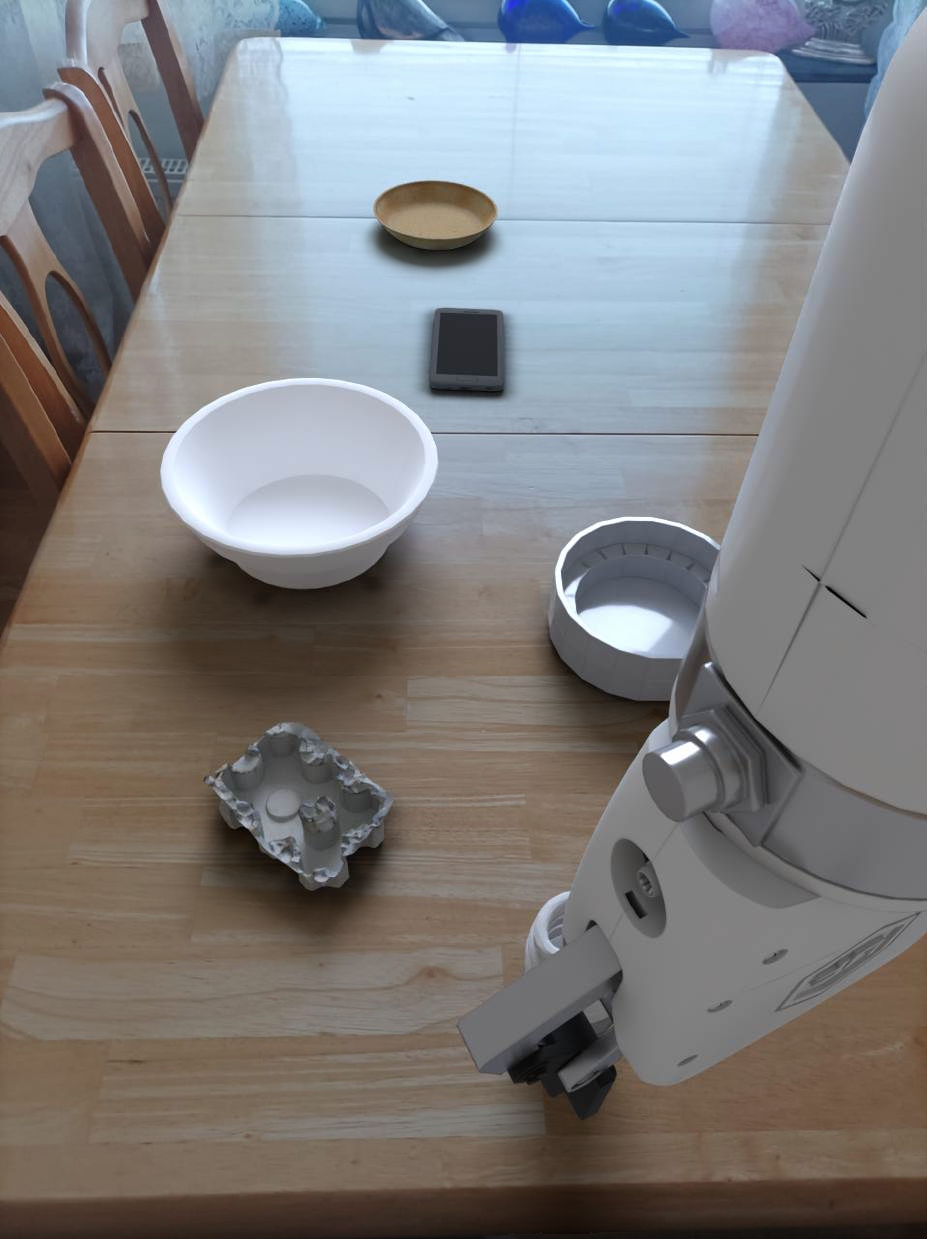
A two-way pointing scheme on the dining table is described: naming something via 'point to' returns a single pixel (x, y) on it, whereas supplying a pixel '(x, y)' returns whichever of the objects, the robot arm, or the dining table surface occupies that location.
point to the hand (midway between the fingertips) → (686, 1001)
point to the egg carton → (302, 803)
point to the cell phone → (468, 349)
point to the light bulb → (547, 943)
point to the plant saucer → (435, 213)
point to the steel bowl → (629, 603)
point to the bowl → (300, 478)
